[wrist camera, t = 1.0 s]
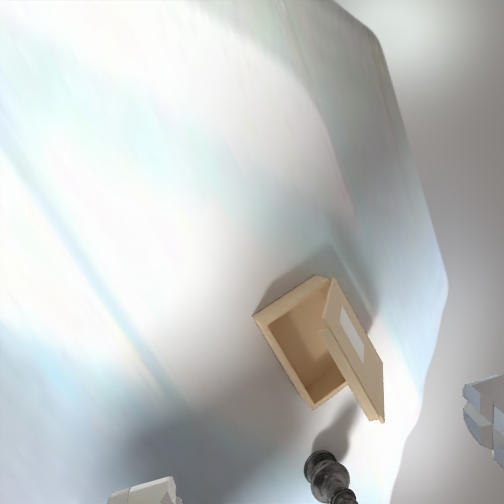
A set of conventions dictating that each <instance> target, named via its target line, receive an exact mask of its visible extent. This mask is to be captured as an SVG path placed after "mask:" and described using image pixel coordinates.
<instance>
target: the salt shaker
mask: <svg viewBox="0 0 504 504" xmlns="http://www.w3.org/2000/svg"><path fill="white" fill-rule="evenodd" d="M304 474H305V477H306V479H307V481H308V482H309V483H311V490H312V494H313V495H314V497H315V498H316V499H317V500H318V501H319V502H322V503H327V504H329V503H330V504H358V503H357V501H356V496H355V494H354V492H353V491H352V490H351V489H348V487H349V483H350V477H349V473H348V471H347V469H346V468H345V467H344V466H343V465H342V464H340V463H337V462H336V459H335V457H334V455H332V454H331V453H330V452H328V451H323V450H322V451H317V452H315V453H313V454H312V455H311V456H310V457H309V458H308V459H307V461H306V463H305V466H304Z"/></svg>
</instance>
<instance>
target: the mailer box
mask: <svg viewBox="0 0 504 504" xmlns="http://www.w3.org/2000/svg"><path fill="white" fill-rule="evenodd" d="M330 284H331V280H330V279H329V278H326V277H321V276H317V275H314V276H312V277H311V278H309V279H308V280H306V281H305V282H303V283H302V284H300V285H299V286H297V287H296V288H294V289H293V290H291V291H290V292H288V293H287V294H285V295H284V296H282V297H281V298H279V299H277V300H276V301H274V302H273V303H271V304H270V305H268V306H267V307H265V308H264V309H262V310H261V311H259V312H258V313H256V314H255V315H253V316H252V317H253V319H254V320H255V322H256V324H257V325H258V327H259V329H260V330H261V332H262V334H263V335H264V337H265V338H266V340H267V342H268V343H269V345H270V347H271V348H272V350H273V352H274V353H275V355H276V357H277V358H278V360H279V362H280V363H281V365H282V367H283V368H284V370H285V371H286V373H287V375H288V376H289V378H290V380H291V381H292V383H293V385H294V386H295V388H296V390H297V391H298V393H299V395H300V396H301V397H302V398H303V399H304V401H305V402H306V403H307V404H308V405H309V406H310V408H311V409H312V410H314V409H316V408H317V407H318V406H320V405H321V404H323V403H324V402H325V401H327V400H328V399H329V398H331V397H332V396H333V395H335V394H336V393H337V392H339V391H340V390H342V389H343V388H344V387H346V386H347V385H348V384H347V382H346V380H345V378H344V377H343V375H342V373H341V372H340V370H339V368H338V366H337V365H336V363H335V361H334V359H333V358H332V356H331V354H330V353H329V351H328V349H327V347H326V346H325V344H324V342H323V340H322V339H321V337H320V335H319V334H318V330H321V329H324V328H326V327H325V325H324V323H323V321H322V320H321V318H322V315H323V311H324V307H325V303H326V299H327V295H328V292H329V288H330Z"/></svg>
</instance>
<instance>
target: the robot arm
mask: <svg viewBox="0 0 504 504" xmlns="http://www.w3.org/2000/svg"><path fill="white" fill-rule="evenodd" d="M463 397H464V398H465V399H466V400H467V401H468V402H467V404H466V405H465V407H464V408H463V416H464V421H465V423H466V426H467V428H468V430H469V432H470V433H471V434H472V436H473V437H474V438H475V440H476V441H477V442H478V443H479V444H480V445H482V446H484V447H486V448H488V449H491V450H492V452H493V458H494V460H495V461H496V462H497V463H498V464H499V465H500V466H501V468H503V470H504V372H503V373H500V374H498V375H497V374H496V375H493V376H490V377H487V378H483V379H480V380H477V381H474V382H471V383H468V384H465V386H464V387H463ZM107 504H183V502H182V500H181V498H180V497H178V496H176V484H175V482H174V480H173V478H172V476H168V477H165V478H161V479H158V480H154V481H151V482H147V483H143V484H140V485H136V486H133V487H130V488H127V489H123V490H120V491H116V492H113V493H111V495H110V497H109V499H108V501H107Z"/></svg>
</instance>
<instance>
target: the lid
mask: <svg viewBox="0 0 504 504" xmlns="http://www.w3.org/2000/svg"><path fill="white" fill-rule="evenodd" d="M321 320H322V321H323V323H324V325H325V327H326V328H324V329H321V330H318V334H319V335H320V337H321V339H322V340H323V342H324V344H325V346H326V347H327V349H328V351H329V353H330V354H331V356H332V358H333V359H334V361H335V363H336V365H337V366H338V368H339V370H340V372H341V373H342V375H343V377H344V378H345V380H346V382H347V384H348V385H349V387H350V389H351V391H352V392H353V394H354V396H355V397H356V399H357V401H358V403H359V404H360V406H361V408H362V410H363V411H364V413H365V415H366V416H367V418H368V420H369V421H373V420H377V419H379V421H380V422H381V424H382V423H385V419H384V389H383V363H382V361H381V359H380V357H379V356H378V354H377V352H376V350H375V348H374V347H373V345H372V343H371V341H370V339H369V338H368V336H367V334H366V332H365V330H364V329H363V327H362V325H361V323H360V321H359V320H358V318H357V316H356V314H355V312H354V311H353V309H352V307H351V305H350V303H349V302H348V300H347V298H346V296H345V294H344V293H343V291H342V289H341V287H340V285H339V284H338V282H337V280H336V278H335V277H333V278H332V280H331V284H330V288H329V292H328V295H327V299H326V303H325V307H324V311H323V315H322V318H321Z"/></svg>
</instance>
